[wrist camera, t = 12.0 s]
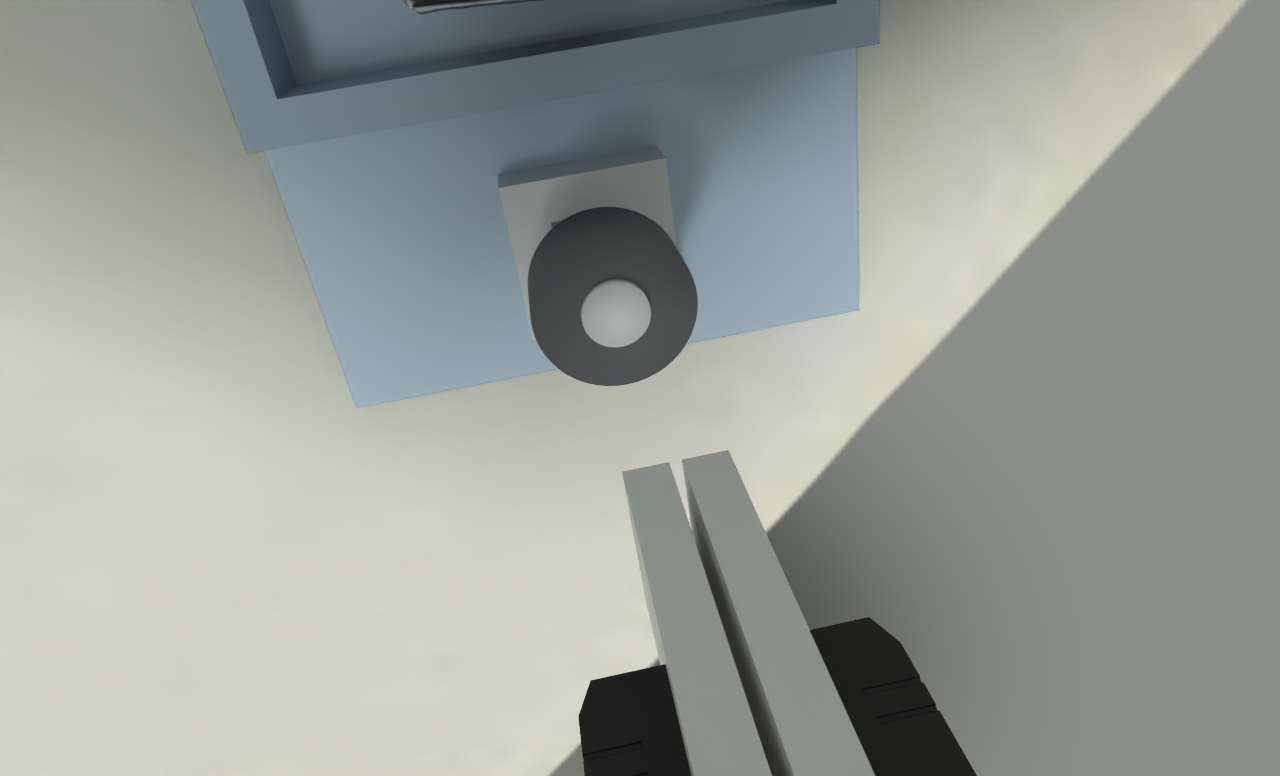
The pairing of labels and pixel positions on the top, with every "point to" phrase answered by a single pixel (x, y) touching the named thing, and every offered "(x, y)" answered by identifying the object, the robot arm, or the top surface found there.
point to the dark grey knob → (610, 297)
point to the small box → (453, 4)
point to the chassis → (545, 160)
